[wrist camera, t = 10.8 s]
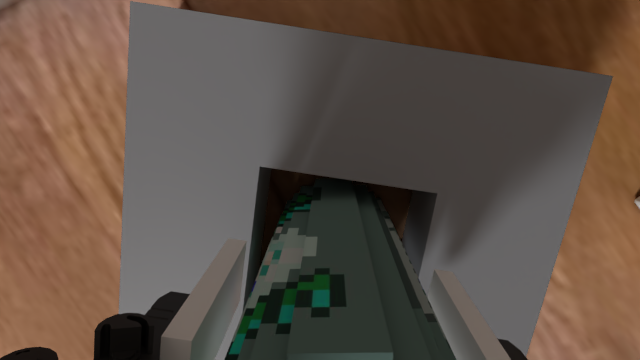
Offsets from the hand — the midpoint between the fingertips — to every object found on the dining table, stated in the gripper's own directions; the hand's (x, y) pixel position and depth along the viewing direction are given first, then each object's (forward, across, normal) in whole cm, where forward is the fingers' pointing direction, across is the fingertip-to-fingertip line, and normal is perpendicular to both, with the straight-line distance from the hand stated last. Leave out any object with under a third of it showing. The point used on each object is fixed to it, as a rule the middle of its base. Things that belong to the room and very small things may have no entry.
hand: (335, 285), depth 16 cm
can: (+7, 0, 0) cm, 7 cm away
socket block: (+7, 0, 0) cm, 7 cm away
